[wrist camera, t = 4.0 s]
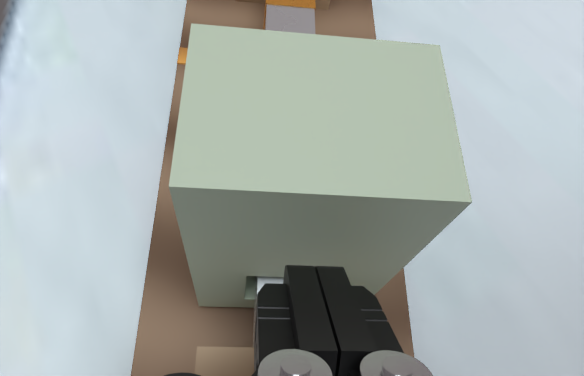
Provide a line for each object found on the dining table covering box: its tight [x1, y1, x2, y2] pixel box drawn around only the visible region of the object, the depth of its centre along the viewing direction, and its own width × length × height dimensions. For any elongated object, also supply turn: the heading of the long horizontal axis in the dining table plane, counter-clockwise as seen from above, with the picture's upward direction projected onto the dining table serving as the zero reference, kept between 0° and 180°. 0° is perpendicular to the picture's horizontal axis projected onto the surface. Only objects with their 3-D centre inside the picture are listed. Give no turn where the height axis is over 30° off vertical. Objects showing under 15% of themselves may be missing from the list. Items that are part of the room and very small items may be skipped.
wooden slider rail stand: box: [131, 0, 414, 376], centre depth 23 cm, size 28×12×8 cm, turn 0°
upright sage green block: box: [169, 23, 472, 308], centre depth 17 cm, size 5×7×11 cm
